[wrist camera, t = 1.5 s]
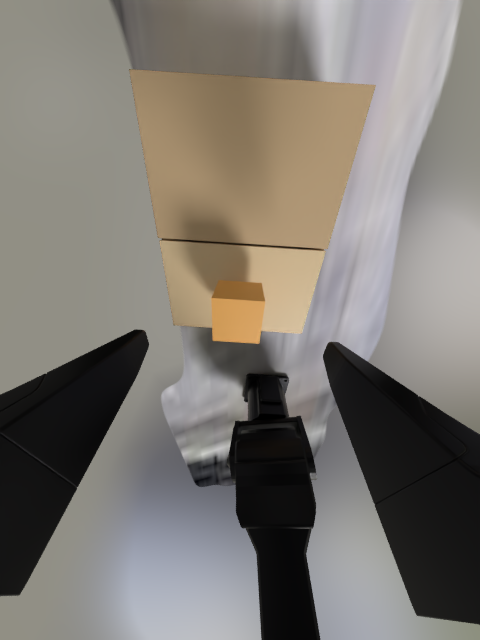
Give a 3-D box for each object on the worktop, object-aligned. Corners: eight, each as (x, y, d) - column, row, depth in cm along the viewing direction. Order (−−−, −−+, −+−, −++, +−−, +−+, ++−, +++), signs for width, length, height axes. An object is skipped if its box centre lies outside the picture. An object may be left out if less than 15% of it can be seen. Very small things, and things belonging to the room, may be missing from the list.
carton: (289, 306, 21) (302, 334, 16) (189, 300, 21) (173, 326, 16) (329, 130, 13) (375, 85, 9) (171, 119, 13) (129, 69, 9)
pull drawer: (299, 329, 17) (318, 371, 12) (175, 321, 17) (151, 360, 12) (322, 249, 13) (360, 268, 9) (162, 239, 13) (120, 253, 9)
